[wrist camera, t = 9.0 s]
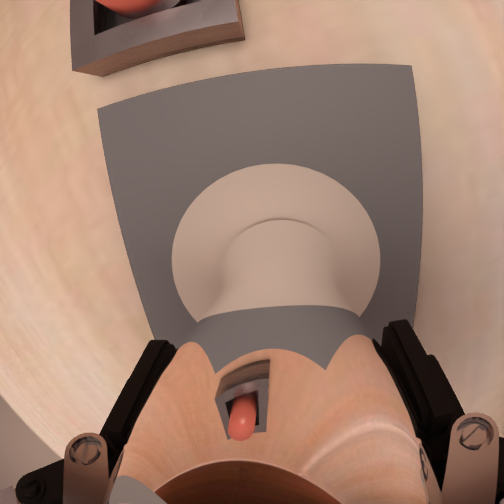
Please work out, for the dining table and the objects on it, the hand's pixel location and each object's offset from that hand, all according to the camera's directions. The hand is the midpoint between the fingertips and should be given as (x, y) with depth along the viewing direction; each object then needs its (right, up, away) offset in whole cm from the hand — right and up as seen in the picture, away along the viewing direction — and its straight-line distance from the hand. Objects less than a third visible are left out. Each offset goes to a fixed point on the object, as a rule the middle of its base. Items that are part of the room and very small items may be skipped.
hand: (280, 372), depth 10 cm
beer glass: (+1, +3, +6) cm, 7 cm away
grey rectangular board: (0, +3, +8) cm, 8 cm away
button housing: (-6, +18, +3) cm, 19 cm away
